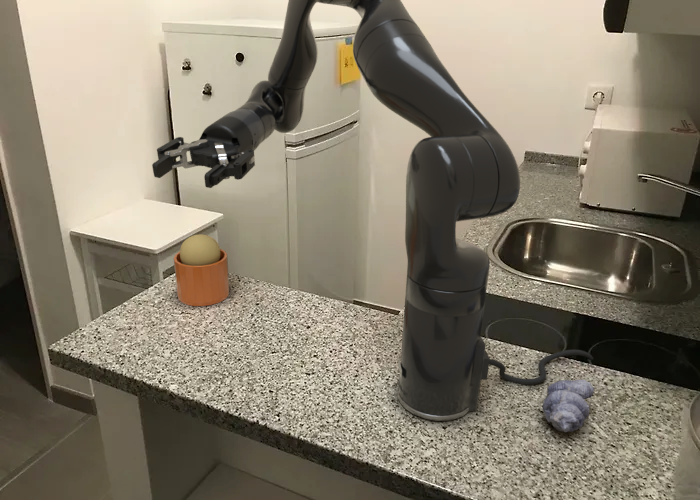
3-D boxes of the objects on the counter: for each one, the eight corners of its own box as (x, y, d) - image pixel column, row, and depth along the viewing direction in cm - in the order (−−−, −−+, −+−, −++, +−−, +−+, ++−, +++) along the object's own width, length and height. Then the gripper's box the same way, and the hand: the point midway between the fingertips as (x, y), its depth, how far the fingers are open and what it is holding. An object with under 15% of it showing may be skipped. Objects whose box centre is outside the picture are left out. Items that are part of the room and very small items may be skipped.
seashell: (561, 401, 76) (556, 454, 67) (540, 369, 75) (532, 417, 67) (601, 389, 73) (601, 441, 64) (579, 355, 72) (577, 403, 64)
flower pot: (231, 282, 102) (229, 245, 99) (226, 305, 94) (224, 266, 92) (182, 283, 101) (178, 246, 99) (173, 306, 94) (169, 267, 91)
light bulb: (175, 294, 97) (169, 238, 93) (201, 279, 102) (197, 226, 98) (205, 303, 94) (201, 246, 90) (230, 288, 99) (227, 233, 95)
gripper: (193, 109, 97) (134, 145, 84) (272, 122, 94) (222, 161, 81) (198, 151, 101) (142, 191, 88) (273, 164, 98) (227, 208, 85)
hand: (181, 176), depth 84 cm, fingers open, 8 cm apart
